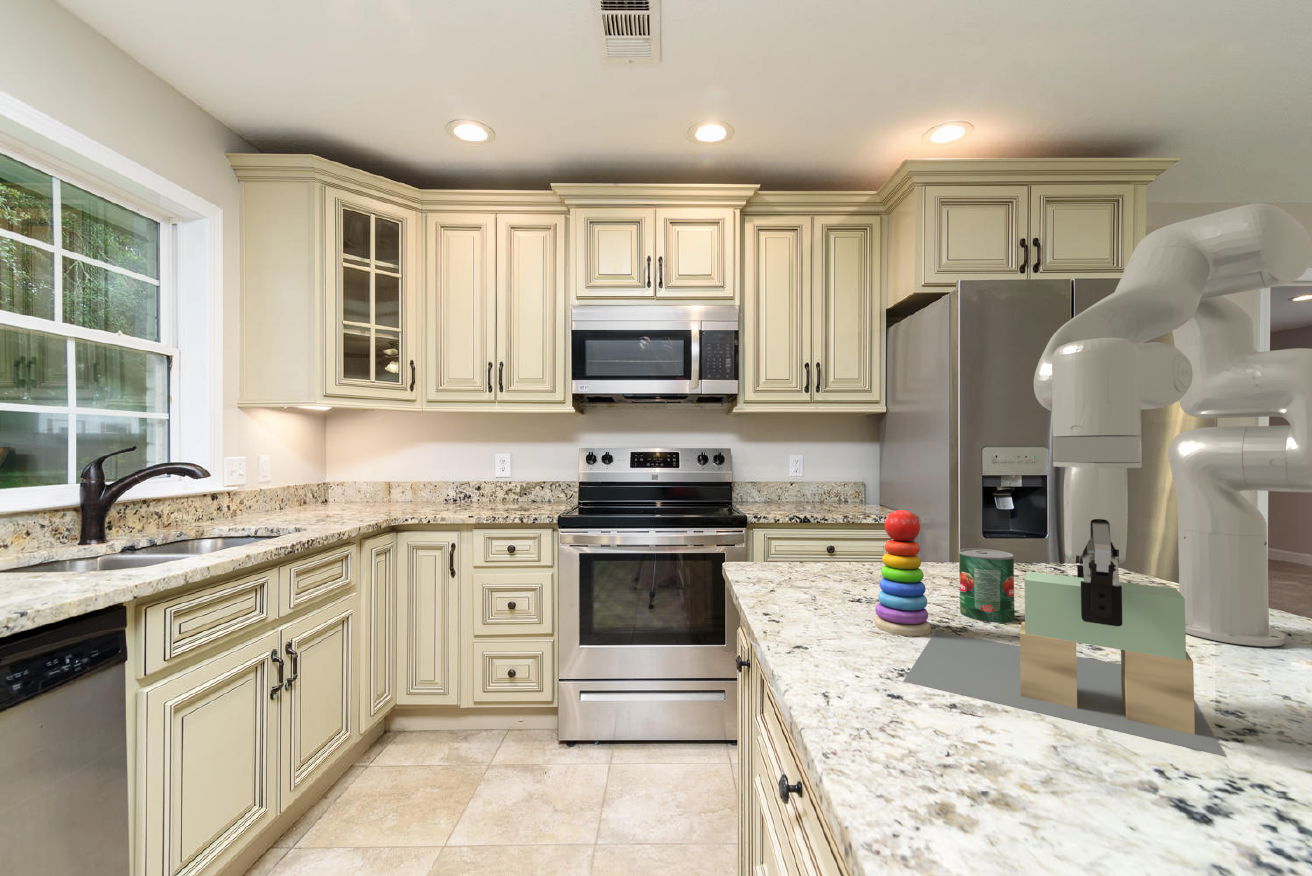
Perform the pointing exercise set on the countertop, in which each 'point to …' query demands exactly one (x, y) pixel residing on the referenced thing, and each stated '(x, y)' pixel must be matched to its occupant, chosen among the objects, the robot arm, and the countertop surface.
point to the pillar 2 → (1158, 690)
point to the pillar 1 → (1048, 669)
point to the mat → (998, 680)
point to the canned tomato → (987, 585)
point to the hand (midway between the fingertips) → (1098, 611)
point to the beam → (1145, 625)
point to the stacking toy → (902, 580)
